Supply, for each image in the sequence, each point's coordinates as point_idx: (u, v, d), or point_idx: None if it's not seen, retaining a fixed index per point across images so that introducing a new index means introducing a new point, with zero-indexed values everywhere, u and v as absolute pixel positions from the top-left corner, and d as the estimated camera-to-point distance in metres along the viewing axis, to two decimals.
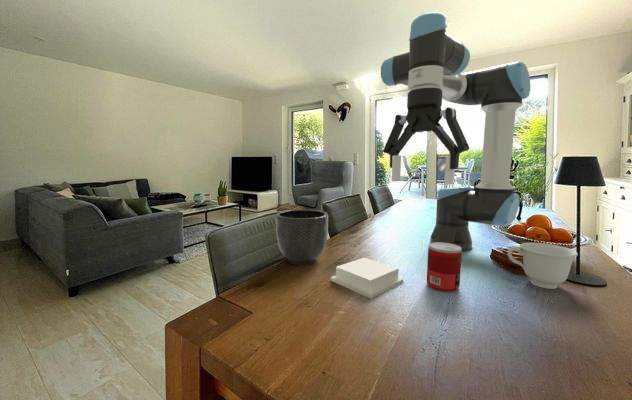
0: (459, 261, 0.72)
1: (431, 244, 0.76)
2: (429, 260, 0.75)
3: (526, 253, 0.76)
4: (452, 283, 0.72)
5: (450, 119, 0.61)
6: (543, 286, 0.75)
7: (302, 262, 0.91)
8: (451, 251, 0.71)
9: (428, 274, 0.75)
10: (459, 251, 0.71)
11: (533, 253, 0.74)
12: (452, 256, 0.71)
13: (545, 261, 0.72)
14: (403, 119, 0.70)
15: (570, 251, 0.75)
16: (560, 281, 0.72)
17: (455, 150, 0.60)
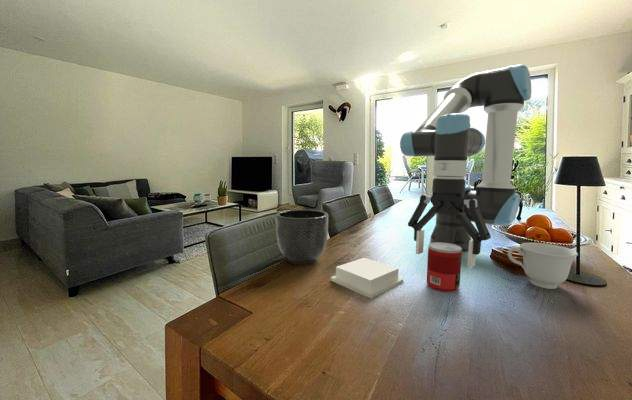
0: (459, 261, 0.72)
1: (431, 244, 0.76)
2: (429, 260, 0.75)
3: (526, 253, 0.76)
4: (452, 283, 0.72)
5: (473, 210, 0.67)
6: (543, 286, 0.75)
7: (302, 262, 0.91)
8: (451, 251, 0.71)
9: (428, 274, 0.75)
10: (459, 251, 0.71)
11: (533, 253, 0.74)
12: (452, 256, 0.71)
13: (545, 261, 0.72)
14: (427, 199, 0.76)
15: (570, 251, 0.75)
16: (560, 281, 0.72)
17: (478, 239, 0.67)
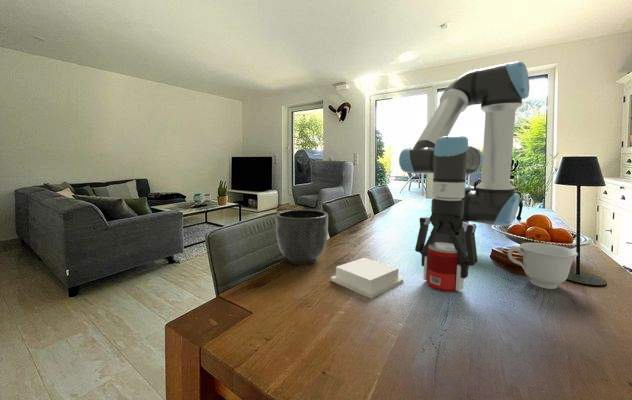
0: (459, 261, 0.72)
1: (431, 244, 0.76)
2: (429, 260, 0.75)
3: (526, 253, 0.76)
4: (452, 283, 0.72)
5: (469, 236, 0.68)
6: (543, 286, 0.75)
7: (302, 262, 0.91)
8: (451, 251, 0.71)
9: (428, 274, 0.75)
10: None
11: (533, 253, 0.74)
12: (452, 255, 0.71)
13: (545, 261, 0.72)
14: (427, 221, 0.77)
15: (570, 251, 0.75)
16: (560, 281, 0.72)
17: (465, 264, 0.70)
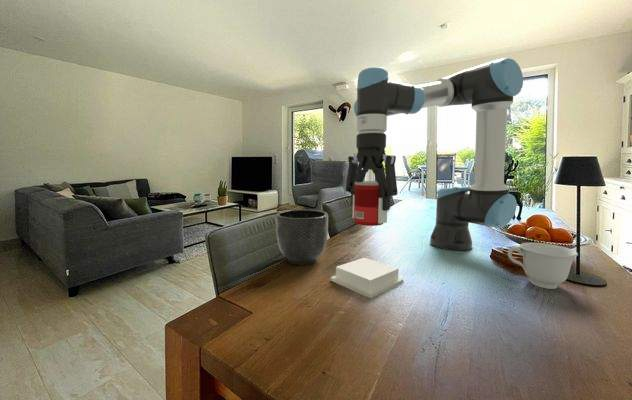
0: None
1: None
2: (354, 196, 0.75)
3: (526, 253, 0.76)
4: (374, 216, 0.72)
5: (387, 166, 0.69)
6: (543, 286, 0.75)
7: (302, 262, 0.91)
8: (372, 183, 0.71)
9: (354, 210, 0.76)
10: None
11: (533, 253, 0.74)
12: (373, 188, 0.71)
13: (545, 261, 0.72)
14: (355, 159, 0.78)
15: (570, 251, 0.75)
16: (560, 281, 0.72)
17: (385, 196, 0.70)
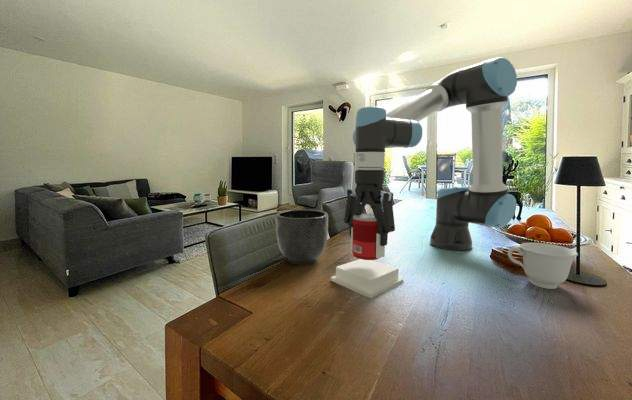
0: None
1: (356, 215, 0.78)
2: (353, 230, 0.77)
3: (526, 253, 0.76)
4: (372, 251, 0.74)
5: (385, 203, 0.70)
6: (543, 286, 0.75)
7: (302, 262, 0.91)
8: (370, 219, 0.73)
9: (352, 244, 0.77)
10: None
11: (533, 253, 0.74)
12: (371, 224, 0.73)
13: (545, 261, 0.72)
14: (353, 192, 0.79)
15: (570, 251, 0.75)
16: (560, 281, 0.72)
17: (383, 232, 0.72)
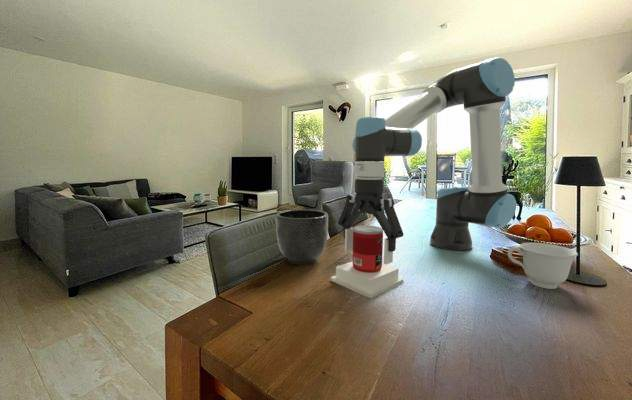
0: (379, 242, 0.74)
1: (356, 227, 0.79)
2: (353, 242, 0.77)
3: (526, 253, 0.76)
4: (372, 263, 0.74)
5: (387, 209, 0.70)
6: (543, 286, 0.75)
7: (302, 262, 0.91)
8: (370, 232, 0.73)
9: (353, 256, 0.78)
10: (378, 232, 0.74)
11: (533, 253, 0.74)
12: (371, 237, 0.73)
13: (545, 261, 0.72)
14: (353, 199, 0.79)
15: (570, 251, 0.75)
16: (560, 281, 0.72)
17: (391, 236, 0.70)
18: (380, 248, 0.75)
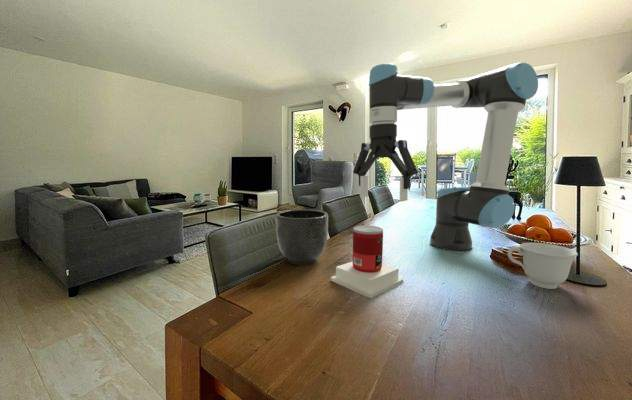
0: (379, 242, 0.74)
1: (356, 227, 0.79)
2: (353, 242, 0.77)
3: (526, 253, 0.76)
4: (372, 263, 0.74)
5: (402, 149, 0.76)
6: (543, 286, 0.75)
7: (302, 262, 0.91)
8: (370, 232, 0.73)
9: (353, 256, 0.78)
10: (378, 232, 0.74)
11: (533, 253, 0.74)
12: (371, 237, 0.73)
13: (545, 261, 0.72)
14: (367, 146, 0.85)
15: (570, 251, 0.75)
16: (560, 281, 0.72)
17: (406, 174, 0.76)
18: (380, 248, 0.75)
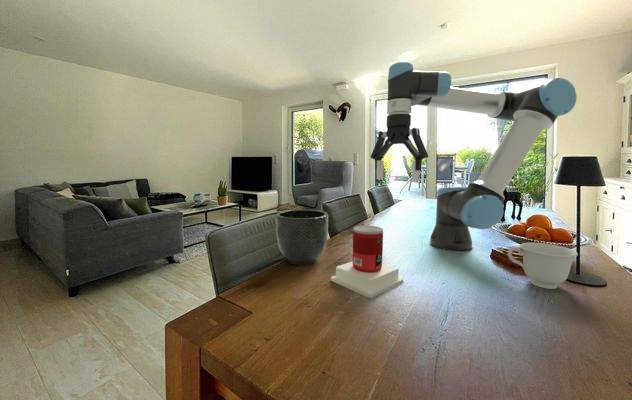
0: (379, 242, 0.74)
1: (356, 227, 0.79)
2: (353, 242, 0.77)
3: (526, 253, 0.76)
4: (372, 263, 0.74)
5: (415, 136, 0.88)
6: (543, 286, 0.75)
7: (302, 262, 0.91)
8: (370, 232, 0.73)
9: (353, 256, 0.78)
10: (378, 232, 0.74)
11: (533, 253, 0.74)
12: (371, 237, 0.73)
13: (545, 261, 0.72)
14: (384, 134, 0.97)
15: (570, 251, 0.75)
16: (560, 281, 0.72)
17: (418, 157, 0.87)
18: (380, 248, 0.75)
